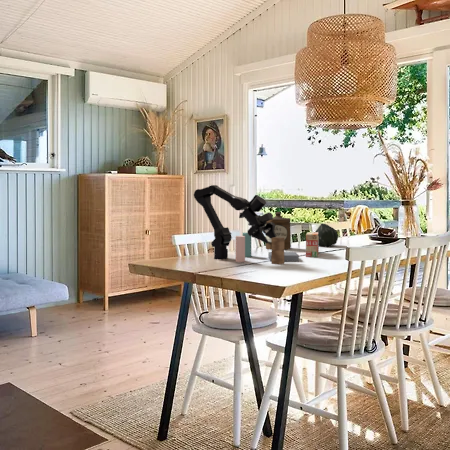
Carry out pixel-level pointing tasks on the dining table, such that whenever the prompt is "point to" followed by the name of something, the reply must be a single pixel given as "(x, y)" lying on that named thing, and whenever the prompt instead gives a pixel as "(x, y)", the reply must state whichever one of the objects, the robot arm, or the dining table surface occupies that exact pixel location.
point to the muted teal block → (247, 245)
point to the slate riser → (287, 256)
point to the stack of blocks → (312, 244)
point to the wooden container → (280, 230)
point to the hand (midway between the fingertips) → (272, 241)
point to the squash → (327, 235)
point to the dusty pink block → (240, 248)
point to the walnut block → (277, 250)
